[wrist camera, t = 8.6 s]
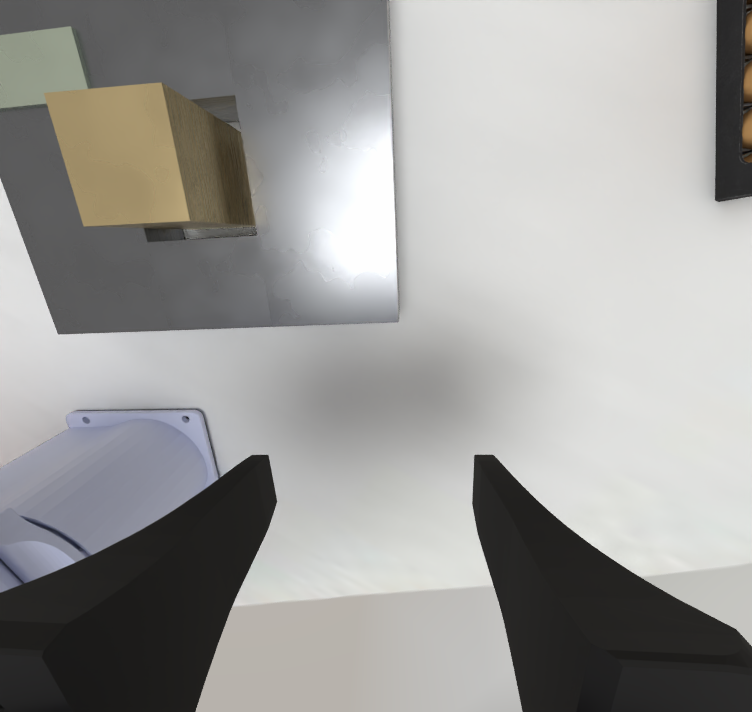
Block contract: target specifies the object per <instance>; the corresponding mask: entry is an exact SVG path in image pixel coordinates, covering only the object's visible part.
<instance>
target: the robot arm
mask: <svg viewBox="0 0 752 712" xmlns="http://www.w3.org/2000/svg"><path fill="white" fill-rule="evenodd" d="M185 416H187V417H189V420H188V419H187V418H186V417H185ZM88 418H89V419H88ZM66 421H67V424H68V426H69V429H67V430H65V431H64V432H62V433H60V434H58V435H57V436H55V437H53V438H51V439H50V440H48V441H46V442H44V443H43V444H41V445H39V446H37V447H36V448H34V449H32V450H31V451H29V452H27V453H25V454H24V455H22V456H20V457H18V458H17V459H15V460H13V461H11V462H10V463H8V464H6V465H4V466H3V467H1V468H0V712H195V711H196V708H197V705H198V702H199V698H200V695H201V692H202V689H203V685H204V683H205V680H206V677H207V674H208V671H209V668H210V665H211V663H212V659H213V657H214V654H215V651H216V648H217V645H218V642H219V640H220V637H221V634H222V632H223V629H224V626H225V623H226V621H227V618H228V615H229V612H230V610H231V608H232V605H233V603H234V601H235V598H236V596H237V594H238V592H239V590H240V588H241V585H242V583H243V581H244V579H245V577H246V575H247V573H248V571H249V569H250V567H251V564H252V562H253V560H254V558H255V556H256V554H257V552H258V550H259V548H260V545H261V543H262V541H263V539H264V537H265V535H266V533H267V530H268V528H269V525H270V522H271V519H272V516H273V513H274V510H275V506H276V503H277V499H276V493H275V488H274V483H273V477H272V472H271V466H270V461H269V456H268V455H251V456H250V457H248V458H247V459H245V460H244V461H242V462H241V463H240V464H238V465H237V466H235V467H234V468H233V469H231V470H230V471H229V472H227V473H226V474H225V475H223V476H222V477H221V478H218V474H217V470H216V466H215V462H214V458H213V454H212V450H211V446H210V442H209V438H208V434H207V430H206V426H205V422H204V418H203V415H202V413H201V412H200V411H198V410H137V411H74V412H71V413H69V414H68V415H66ZM472 504H473V510H474V516H475V521H476V526H477V532H478V536H479V539H480V542H481V546H482V549H483V552H484V556H485V559H486V562H487V565H488V569H489V572H490V575H491V578H492V582H493V585H494V588H495V591H496V594H497V598H498V601H499V605H500V608H501V612H502V616H503V620H504V623H505V628H506V633H507V638H508V642H509V647H510V652H511V656H512V661H513V666H514V671H515V676H516V681H517V686H518V691H519V696H520V700H521V706H522V711H523V712H752V646H751V645H750V644H749V643H748V642H747V641H746V640H745V638H744V637H743V636H742V635H741V634H740V633H739V632H738V631H737V630H736V629H734V628H732V627H731V626H729V625H727V624H725V623H723V622H721V621H719V620H717V619H715V618H713V617H711V616H709V615H707V614H705V613H703V612H702V611H700V610H698V609H696V608H694V607H692V606H690V605H688V604H686V603H684V602H682V601H680V600H678V599H676V598H675V597H673V596H671V595H670V594H668V593H666V592H664V591H663V590H661V589H659V588H657V587H655V586H654V585H652V584H651V583H649V582H647V581H645V580H644V579H642V578H641V577H639V576H637V575H636V574H634V573H632V572H631V571H629V570H628V569H626V568H624V567H623V566H621V565H620V564H618V563H617V562H615V561H614V560H612V559H611V558H609V557H608V556H606V555H605V554H603V553H602V552H600V551H599V550H598V549H596V548H595V547H593V546H592V545H591V544H589V543H588V542H587V541H585V540H584V539H583V538H581V537H580V536H579V535H577V534H576V533H575V532H573V531H572V530H571V529H570V528H568V527H567V526H566V525H565V524H563V523H562V522H561V521H560V520H558V519H557V518H556V517H555V516H554V515H553V514H552V513H550V512H549V511H548V510H547V509H546V508H545V507H544V506H543V505H542V504H540V503H539V502H538V501H537V500H536V499H535V498H534V497H533V496H532V495H531V494H530V493H529V492H528V491H527V490H526V489H525V488H524V487H523V486H522V485H521V484H520V483H519V482H518V481H517V480H516V479H515V478H514V477H513V476H512V474H511V473H510V472H509V471H508V470H507V469H506V468H505V467H504V466H503V465H502V464H501V463H500V461H499V460H498V459H497V458H496V457H495V456H494V455H475V456H474V479H473V502H472Z"/></svg>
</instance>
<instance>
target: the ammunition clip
mask: <svg viewBox="0 0 752 712" xmlns="http://www.w3.org/2000/svg"><path fill="white" fill-rule="evenodd" d="M750 196H752V0H717V57H716V178H715V200H716V201H718V202H720V201H726V200H732V199H738V198H744V197H750Z"/></svg>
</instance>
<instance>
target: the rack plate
mask: <svg viewBox="0 0 752 712" xmlns="http://www.w3.org/2000/svg"><path fill="white" fill-rule="evenodd" d="M160 82H162V83H163V84H165V85H167V86H168V87H170V88H171V89H173V90H175V91H176V92H178V93H179V94H181V95H182V96H184V97H186V98H187V99H189V100H190V101H192V102H194V103H195V104H197V105H198V106H200V107H201V108H203V109H205V110H206V111H208V112H209V113H211V114H213V115H214V116H216V117H217V118H219V119H220V120H222V121H224V122H232V121H239V123H240V129H241V135H242V142H243V148H244V154H245V161H246V167H247V173H248V180H249V186H250V192H251V198H252V205H253V211H254V217H255V224H256V230H257V236H240V237H224V238H208V239H192V240H185V238H184V233H183V229H154V228H119V227H84V226H83V223H82V219H81V216H80V213H79V209H78V206H77V203H76V199H75V196H74V193H73V189H72V186H71V183H70V179H69V176H68V173H67V169H66V166H65V163H64V159H63V156H62V153H61V149H60V146H59V143H58V139H57V136H56V133H55V129H54V126H53V123H52V119H51V116H50V113H49V109H48V106H47V103H46V99H45V96H44V93H48V92H59V91H71V90H82V89H93V88H104V87H115V86H126V85H137V84H148V83H160ZM0 178H1V181H2V184H3V186H4V189H5V192H6V194H7V197H8V200H9V203H10V205H11V208H12V211H13V213H14V216H15V219H16V221H17V224H18V227H19V230H20V232H21V235H22V238H23V240H24V243H25V246H26V249H27V251H28V254H29V257H30V259H31V262H32V265H33V268H34V270H35V273H36V276H37V278H38V281H39V284H40V286H41V289H42V292H43V295H44V297H45V300H46V303H47V305H48V308H49V311H50V314H51V316H52V319H53V322H54V324H55V327H56V330H57V332H58V334H83V333H111V332H138V331H166V330H194V329H221V328H249V327H277V326H304V325H332V324H359V323H387V322H398V321H399V286H398V257H397V228H396V199H395V170H394V141H393V111H392V82H391V53H390V24H389V0H0Z"/></svg>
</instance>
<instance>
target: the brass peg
mask: <svg viewBox="0 0 752 712" xmlns="http://www.w3.org/2000/svg"><path fill="white" fill-rule="evenodd" d="M44 96H45V99H46V103H47V106H48V109H49V113H50V116H51V119H52V123H53V126H54V129H55V133H56V136H57V139H58V143H59V146H60V149H61V153H62V156H63V159H64V163H65V166H66V169H67V173H68V176H69V179H70V183H71V186H72V189H73V193H74V196H75V199H76V203H77V206H78V209H79V213H80V216H81V219H82V223H83V226H84V227H119V228H154V229H190V230H199V229H219V228H239V227H256V224H255V217H254V211H253V205H252V198H251V192H250V186H249V180H248V173H247V167H246V161H245V154H244V148H243V142H242V135H241V132H239V131H238V130H236V129H235V128H233V127H232V126H230V125H228V124H227V123H225V122H224V121H222V120H220V119H219V118H217V117H216V116H214V115H213V114H211V113H209V112H208V111H206V110H205V109H203V108H201V107H200V106H198V105H197V104H195V103H194V102H192V101H190V100H189V99H187V98H186V97H184V96H182V95H181V94H179V93H178V92H176V91H175V90H173V89H171V88H170V87H168V86H167V85H165V84H163V83H162V82H160V83H148V84H137V85H126V86H115V87H104V88H93V89H82V90H71V91H59V92H48V93H44Z"/></svg>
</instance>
